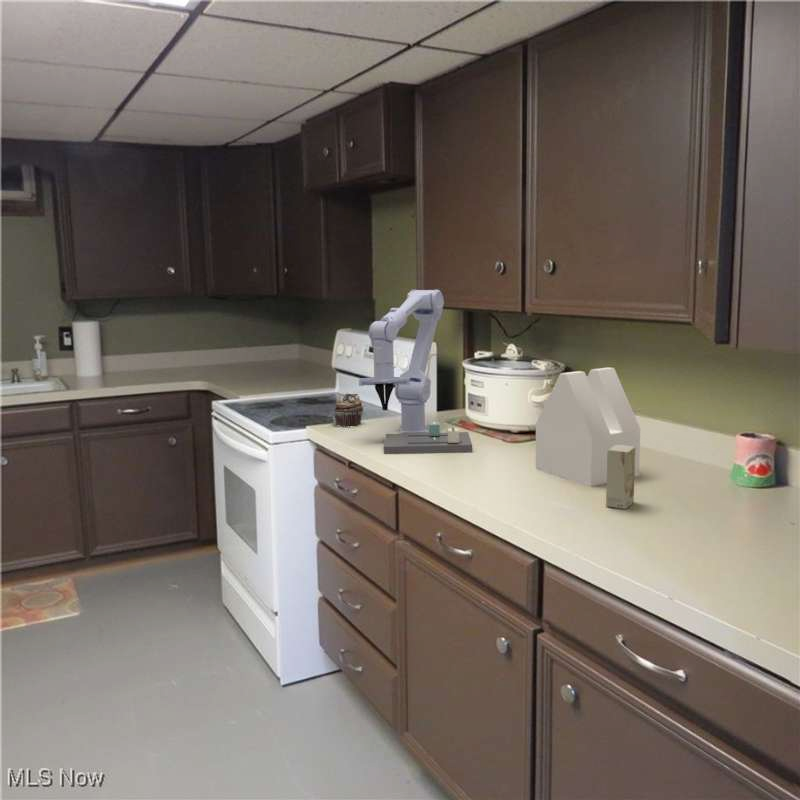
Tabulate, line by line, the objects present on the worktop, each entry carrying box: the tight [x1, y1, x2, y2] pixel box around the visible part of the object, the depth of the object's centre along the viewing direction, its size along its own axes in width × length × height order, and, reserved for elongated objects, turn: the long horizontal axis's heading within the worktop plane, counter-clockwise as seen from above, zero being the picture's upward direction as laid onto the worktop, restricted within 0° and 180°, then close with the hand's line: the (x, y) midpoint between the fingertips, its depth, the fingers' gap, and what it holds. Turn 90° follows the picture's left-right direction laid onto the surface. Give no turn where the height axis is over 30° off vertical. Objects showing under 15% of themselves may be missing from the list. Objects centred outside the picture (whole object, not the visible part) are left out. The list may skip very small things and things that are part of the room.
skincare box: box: [605, 445, 635, 510], centre depth 162 cm, size 6×4×12 cm
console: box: [383, 431, 473, 455], centre depth 218 cm, size 16×24×2 cm, turn 89°
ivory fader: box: [446, 427, 460, 443], centre depth 213 cm, size 4×3×3 cm
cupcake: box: [333, 393, 364, 428], centre depth 249 cm, size 10×10×10 cm
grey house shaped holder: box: [535, 366, 641, 488], centre depth 186 cm, size 19×15×25 cm
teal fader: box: [428, 421, 441, 436], centre depth 222 cm, size 4×3×3 cm
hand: (385, 409), depth 223 cm, fingers closed
